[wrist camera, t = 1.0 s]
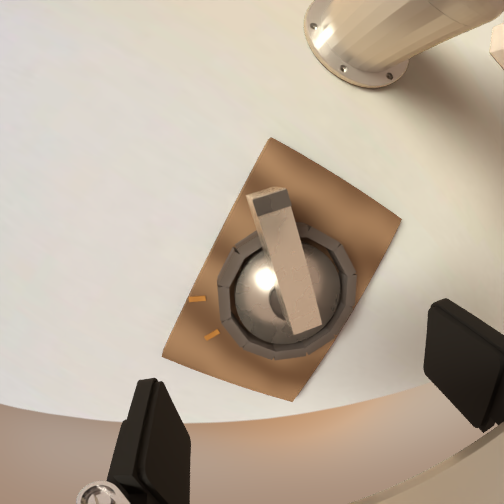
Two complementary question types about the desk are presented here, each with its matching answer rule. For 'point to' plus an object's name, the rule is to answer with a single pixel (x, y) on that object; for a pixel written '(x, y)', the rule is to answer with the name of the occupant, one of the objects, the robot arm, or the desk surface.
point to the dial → (284, 276)
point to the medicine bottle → (498, 44)
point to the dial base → (307, 207)
